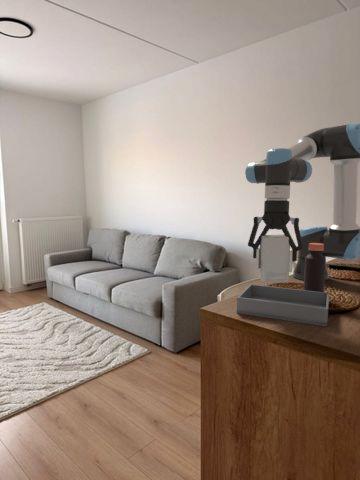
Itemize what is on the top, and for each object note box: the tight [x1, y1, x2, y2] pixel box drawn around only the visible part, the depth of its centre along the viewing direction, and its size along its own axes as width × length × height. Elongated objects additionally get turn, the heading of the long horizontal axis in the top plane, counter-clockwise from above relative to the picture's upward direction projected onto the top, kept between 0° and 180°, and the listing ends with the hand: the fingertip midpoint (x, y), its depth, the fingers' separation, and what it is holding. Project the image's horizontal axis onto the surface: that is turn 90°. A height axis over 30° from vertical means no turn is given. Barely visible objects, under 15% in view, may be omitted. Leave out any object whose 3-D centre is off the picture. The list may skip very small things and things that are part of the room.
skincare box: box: [259, 233, 291, 284], centre depth 107 cm, size 8×6×15 cm
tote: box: [236, 283, 330, 327], centre depth 107 cm, size 18×26×5 cm
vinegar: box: [303, 243, 327, 292], centre depth 118 cm, size 7×7×20 cm
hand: (273, 269), depth 107 cm, fingers closed on skincare box, 9 cm apart
